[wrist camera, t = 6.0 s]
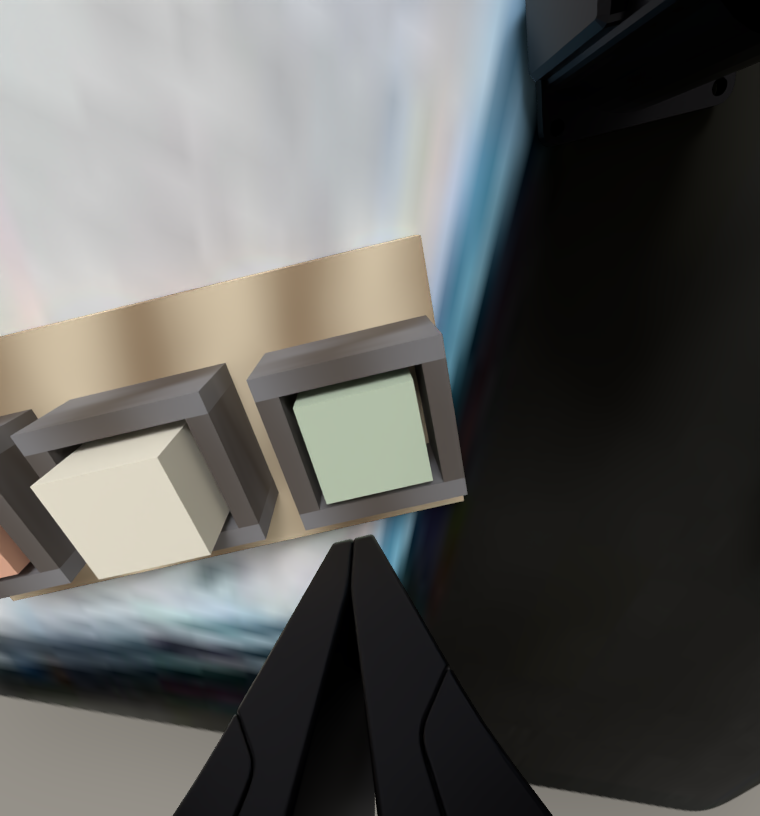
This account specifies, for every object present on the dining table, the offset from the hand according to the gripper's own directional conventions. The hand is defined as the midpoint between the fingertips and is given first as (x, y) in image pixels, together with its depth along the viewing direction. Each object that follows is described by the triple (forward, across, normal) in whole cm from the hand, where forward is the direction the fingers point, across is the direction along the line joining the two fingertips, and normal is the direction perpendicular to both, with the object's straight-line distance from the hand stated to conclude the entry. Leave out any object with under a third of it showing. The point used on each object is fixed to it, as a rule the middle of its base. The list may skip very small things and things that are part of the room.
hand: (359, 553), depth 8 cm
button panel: (+10, +8, +1) cm, 13 cm away
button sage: (+8, 0, +1) cm, 8 cm away
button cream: (+7, +8, +1) cm, 11 cm away
